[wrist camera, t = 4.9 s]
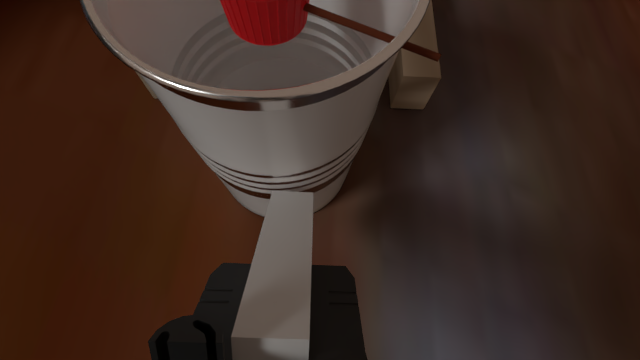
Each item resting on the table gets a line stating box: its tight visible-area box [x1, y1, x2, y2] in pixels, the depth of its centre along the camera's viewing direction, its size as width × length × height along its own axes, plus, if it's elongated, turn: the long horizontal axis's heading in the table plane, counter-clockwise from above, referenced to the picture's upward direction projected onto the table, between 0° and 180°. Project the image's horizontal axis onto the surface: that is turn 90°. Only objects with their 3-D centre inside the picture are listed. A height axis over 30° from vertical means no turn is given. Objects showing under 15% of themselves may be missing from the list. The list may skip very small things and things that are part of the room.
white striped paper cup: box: [80, 0, 441, 217], centre depth 14 cm, size 10×8×12 cm
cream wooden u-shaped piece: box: [136, 0, 441, 109], centre depth 21 cm, size 18×11×4 cm, turn 89°
